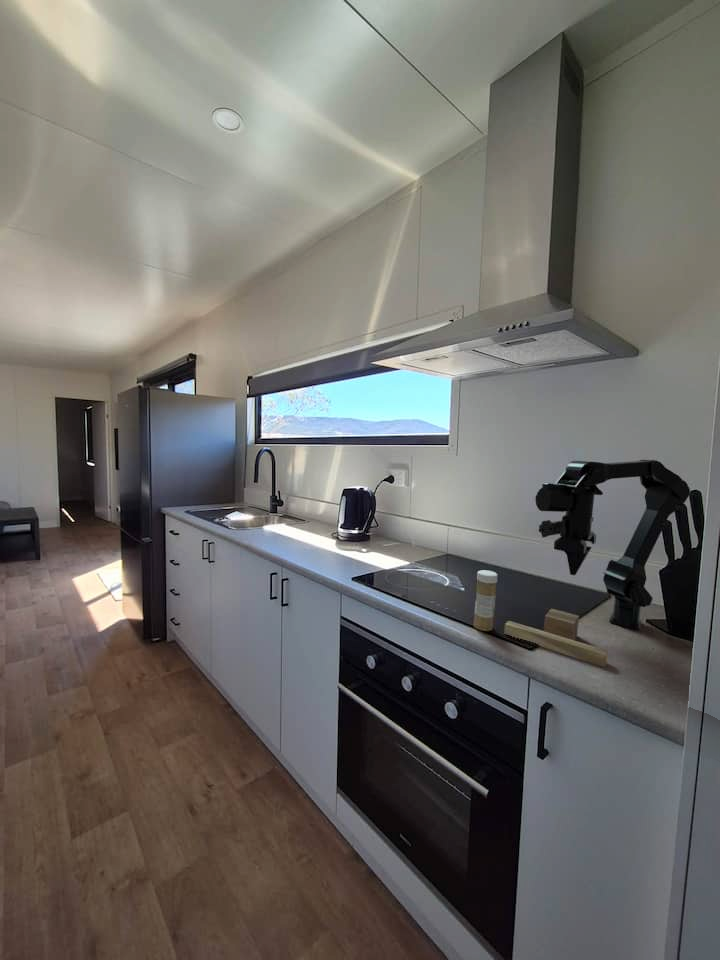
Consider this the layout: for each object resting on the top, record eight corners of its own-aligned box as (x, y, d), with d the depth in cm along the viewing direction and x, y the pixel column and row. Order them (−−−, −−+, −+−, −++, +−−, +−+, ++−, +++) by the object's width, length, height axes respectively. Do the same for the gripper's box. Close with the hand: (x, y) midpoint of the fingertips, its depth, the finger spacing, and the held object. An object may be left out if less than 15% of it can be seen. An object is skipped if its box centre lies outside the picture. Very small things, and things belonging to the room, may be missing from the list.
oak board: (507, 630, 94) (508, 620, 94) (606, 662, 82) (607, 650, 82) (504, 634, 92) (505, 623, 92) (604, 667, 80) (605, 655, 80)
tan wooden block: (549, 628, 98) (551, 608, 97) (577, 636, 94) (579, 615, 94) (543, 636, 93) (545, 615, 93) (571, 645, 89) (573, 623, 89)
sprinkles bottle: (478, 621, 99) (482, 568, 98) (496, 628, 96) (501, 573, 95) (469, 627, 95) (474, 571, 94) (487, 633, 92) (492, 576, 91)
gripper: (552, 505, 110) (547, 560, 111) (533, 511, 96) (528, 575, 97) (599, 510, 103) (593, 570, 105) (586, 518, 89) (579, 586, 90)
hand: (572, 574), depth 99 cm, fingers closed
